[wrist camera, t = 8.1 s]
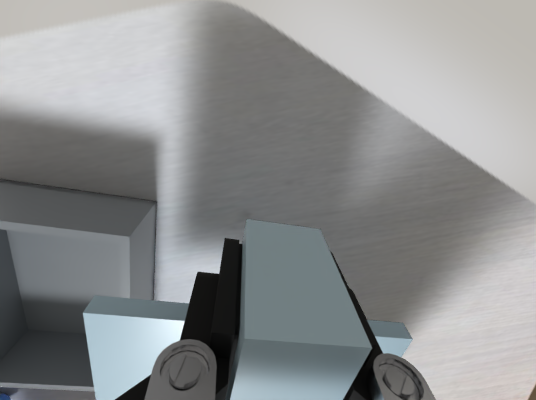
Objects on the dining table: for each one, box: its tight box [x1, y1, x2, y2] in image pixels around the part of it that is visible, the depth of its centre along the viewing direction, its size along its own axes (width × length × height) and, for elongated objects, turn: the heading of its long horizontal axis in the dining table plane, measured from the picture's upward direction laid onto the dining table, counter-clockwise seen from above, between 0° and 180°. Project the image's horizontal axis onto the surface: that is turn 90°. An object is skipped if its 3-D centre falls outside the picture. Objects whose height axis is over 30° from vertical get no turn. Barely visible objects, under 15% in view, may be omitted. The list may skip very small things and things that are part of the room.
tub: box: [0, 179, 157, 391], centre depth 22 cm, size 12×16×6 cm
